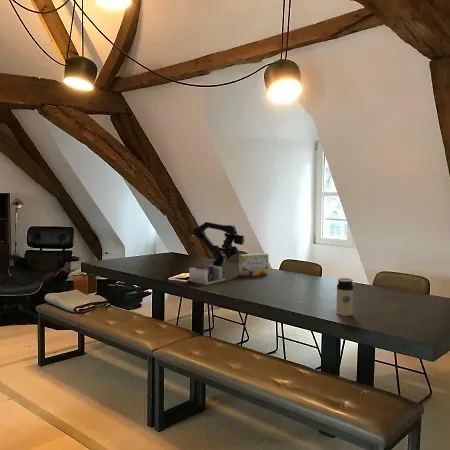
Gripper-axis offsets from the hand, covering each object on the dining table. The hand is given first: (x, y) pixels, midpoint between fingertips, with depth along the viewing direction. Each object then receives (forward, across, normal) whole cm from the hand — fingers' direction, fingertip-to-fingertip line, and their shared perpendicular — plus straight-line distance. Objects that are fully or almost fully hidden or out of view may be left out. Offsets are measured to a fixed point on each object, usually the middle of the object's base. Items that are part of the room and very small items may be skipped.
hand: (221, 259), depth 349 cm
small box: (+22, +3, +5) cm, 23 cm away
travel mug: (+50, -100, +30) cm, 116 cm away
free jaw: (+16, +1, -1) cm, 16 cm away
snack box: (-3, -16, -22) cm, 28 cm away
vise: (+21, +2, +4) cm, 22 cm away
